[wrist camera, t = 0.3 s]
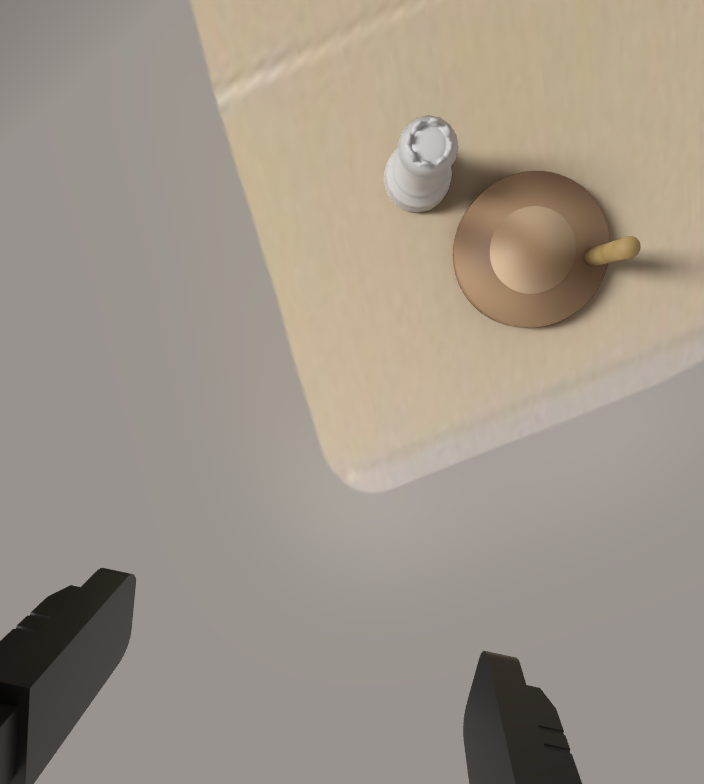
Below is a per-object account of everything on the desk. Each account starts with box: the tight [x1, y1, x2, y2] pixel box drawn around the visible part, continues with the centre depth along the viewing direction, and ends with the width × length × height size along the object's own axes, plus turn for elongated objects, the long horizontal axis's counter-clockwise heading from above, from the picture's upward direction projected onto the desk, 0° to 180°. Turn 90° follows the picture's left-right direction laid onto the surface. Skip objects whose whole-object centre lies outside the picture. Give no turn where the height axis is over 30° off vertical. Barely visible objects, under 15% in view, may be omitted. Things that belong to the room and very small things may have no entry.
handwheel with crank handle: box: [453, 171, 640, 327], centre depth 34 cm, size 10×10×6 cm
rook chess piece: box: [383, 115, 458, 213], centre depth 33 cm, size 4×4×8 cm
